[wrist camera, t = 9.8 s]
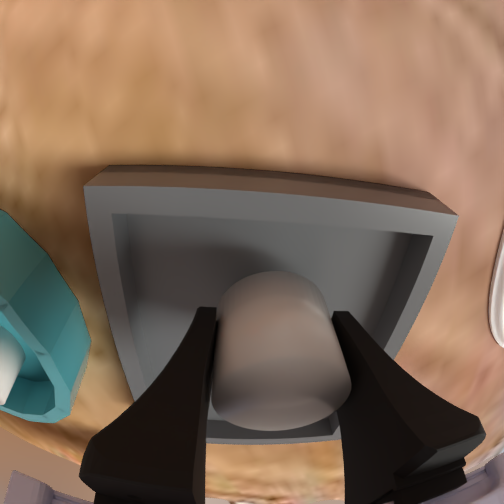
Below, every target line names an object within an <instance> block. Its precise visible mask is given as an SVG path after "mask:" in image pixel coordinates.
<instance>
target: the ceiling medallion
mask: <svg viewBox="0 0 504 504" xmlns="http://www.w3.org/2000/svg"><path fill="white" fill-rule="evenodd" d="M489 324H490V328H491V332H492V334H493V336H494V338H495V340H496V341H497V343H498V344H499V345H500V346H502V347H503V348H504V230H503V233H502V237H501V241H500V245H499V249H498V253H497V257H496V261H495V266H494V271H493V276H492V281H491V288H490V295H489Z"/></svg>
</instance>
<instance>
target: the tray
mask: <svg viewBox="0 0 504 504" xmlns="http://www.w3.org/2000/svg"><path fill="white" fill-rule="evenodd" d="M83 188H84V197H85V205H86V212H87V219H88V226H89V232H90V238H91V244H92V249H93V255H94V260H95V265H96V270H97V274H98V279H99V283H100V288H101V292H102V296H103V301H104V305H105V309H106V312H107V316H108V320H109V324H110V327H111V331H112V334H113V338H114V341H115V345H116V348H117V351H118V354H119V358H120V361H121V364H122V367H123V370H124V373H125V376H126V379H127V382H128V384H129V387H130V390H131V393H132V395H133V398H134V401H136V400H137V399H138V398H139V397H140V396H141V395H142V394H143V393H144V392H145V391H146V389H147V388H148V387H149V386H150V385H151V384H152V383H153V381H154V380H155V379H156V378H157V377H158V375H159V374H160V373H161V371H162V370H163V369H164V367H165V366H166V365H167V363H168V362H169V360H170V359H171V357H172V356H173V354H174V353H175V351H176V350H177V348H178V347H179V345H180V343H181V341H182V340H183V338H184V336H185V334H186V333H187V331H188V329H189V327H190V325H191V323H192V321H193V318H194V316H195V314H196V311H197V308H199V307H200V306H202V307H218V303H219V301H220V299H221V297H222V296H223V295H224V293H225V292H226V291H227V290H228V289H229V288H230V287H231V286H232V285H234V284H235V283H236V282H238V281H240V280H241V279H243V278H245V277H248V276H250V275H253V274H257V273H261V272H267V271H284V272H290V273H295V274H298V275H301V276H303V277H305V278H307V279H308V280H310V281H311V282H313V283H314V284H315V285H316V286H317V287H318V288H319V290H320V291H321V292H322V294H323V296H324V299H325V302H326V305H327V308H328V311H329V314H330V317H331V318H332V315H333V312H334V311H349V312H350V313H351V314H352V316H353V317H354V318H355V319H356V320H357V321H358V322H359V323H360V325H361V326H362V327H363V328H364V329H365V330H366V331H367V333H368V334H369V335H370V336H371V337H372V338H373V339H374V340H375V341H376V343H377V344H378V345H379V346H380V347H381V348H382V349H383V350H384V351H385V352H386V353H387V354H388V355H389V356H390V357H391V358H392V359H393V360H394V358H395V357H396V355H397V353H398V351H399V350H400V348H401V346H402V344H403V342H404V341H405V339H406V337H407V335H408V333H409V331H410V329H411V327H412V325H413V324H414V322H415V320H416V318H417V316H418V314H419V312H420V310H421V307H422V305H423V303H424V301H425V299H426V297H427V295H428V293H429V290H430V288H431V286H432V284H433V281H434V279H435V277H436V275H437V272H438V270H439V267H440V265H441V263H442V260H443V258H444V255H445V253H446V250H447V248H448V245H449V242H450V240H451V237H452V234H453V231H454V229H455V226H456V223H457V220H458V217H459V216H458V215H457V214H456V213H455V212H453V211H452V210H451V209H450V208H448V207H447V206H446V205H445V204H443V203H442V202H441V201H440V200H438V199H437V198H436V197H434V196H433V195H432V194H431V193H429V192H423V191H418V190H412V189H407V188H401V187H395V186H389V185H383V184H376V183H369V182H363V181H356V180H348V179H341V178H333V177H324V176H316V175H307V174H297V173H287V172H276V171H265V170H252V169H237V168H220V167H200V166H169V165H109V166H108V167H106V168H105V169H104V170H103V171H101V172H100V173H99V174H97V175H96V176H95V177H94V178H92V179H91V180H90V181H89V182H88V183H86V184H85V185H84V186H83ZM211 393H212V390H211ZM339 439H341V433H340V426H339V420H338V416H337V412H336V411H335V412H333V413H332V414H330V415H329V416H327V417H325V418H323V419H321V420H319V421H317V422H314V423H312V424H309V425H306V426H302V427H298V428H294V429H288V430H279V431H262V430H253V429H247V428H243V427H240V426H237V425H234V424H232V423H230V422H228V421H226V420H224V419H223V418H222V417H220V416H219V415H218V414H217V413H216V411H215V410H214V408H213V406H212V402H211V397H210V404H209V411H208V418H207V430H206V443H213V444H241V445H264V444H293V443H308V442H320V441H330V440H339Z"/></svg>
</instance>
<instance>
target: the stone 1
mask: <svg viewBox="0 0 504 504" xmlns="http://www.w3.org/2000/svg"><path fill="white" fill-rule="evenodd" d="M25 359H26V356H25V352H24V350H23V348H22V346H21V345H20V343H19V342H18V341H17V340H16V338H15V337H14V336H13V335H12V334H11V333H10V332H8V331H7V330H6V329H5V328H3V327H2V326H1V325H0V405H4V404H5V402H6V400H7V397H8V395H9V393H10V391H11V388H12V386H13V384H14V382H15V380H16V378H17V376H18V374H19V372H20V369H21V367H22V365H23V363H24V361H25Z"/></svg>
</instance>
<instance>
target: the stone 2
mask: <svg viewBox="0 0 504 504" xmlns="http://www.w3.org/2000/svg"><path fill="white" fill-rule="evenodd" d="M350 392H351V379H350V376H349V373H348V369H347V366H346V363H345V360H344V357H343V353H342V350H341V347H340V344H339V341H338V338H337V335H336V332H335V329H334V326H333V323H332V320H331V317H330V314H329V311H328V308H327V305H326V302H325V299H324V296H323V294H322V292H321V291H320V290H319V288H318V287H317V286H316V285H315V284H314V283H313V282H311V281H310V280H308V279H307V278H305V277H303V276H301V275H298V274H295V273H290V272H284V271H267V272H261V273H257V274H253V275H250V276H248V277H245V278H243V279H241V280H240V281H238V282H236V283H235V284H234V285H232V286H231V287H230V288H229V289H228V290H227V291H226V292H225V293H224V295H223V296H222V297H221V299H220V301H219V303H218V307H217V314H216V334H215V345H214V357H213V374H212V393H211V402H212V406H213V408H214V410H215V411H216V413H217V414H218V415H219V416H220V417H222V418H223V419H224V420H226V421H228V422H230V423H232V424H234V425H237V426H240V427H243V428H247V429H253V430H262V431H279V430H288V429H294V428H298V427H302V426H306V425H309V424H312V423H314V422H317V421H319V420H321V419H323V418H325V417H327V416H329V415H330V414H332V413H333V412H335V411H336V410H337V409H338V408H339V407H341V406H342V404H343V403H344V402H345V401H346V399H347V398H348V396H349V394H350Z"/></svg>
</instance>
